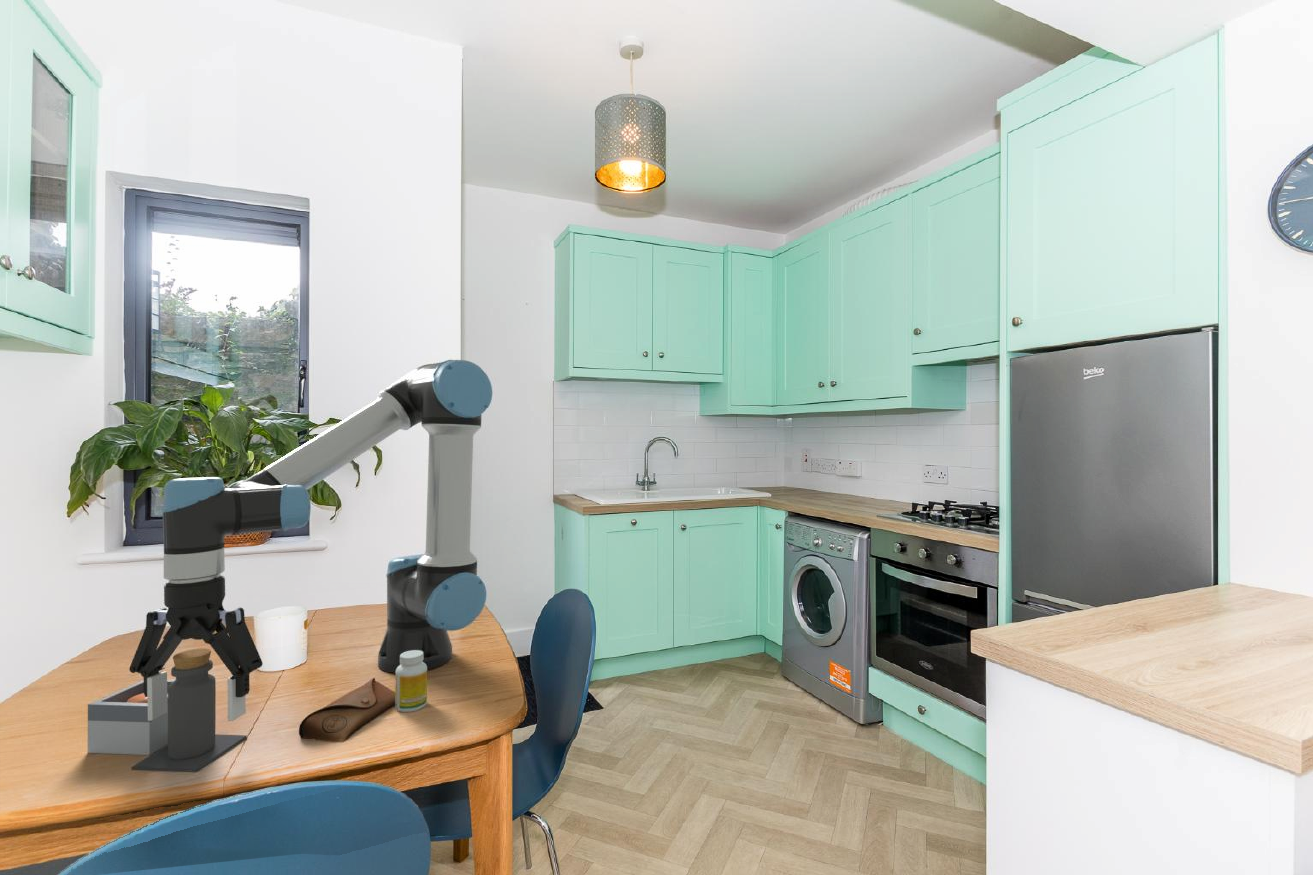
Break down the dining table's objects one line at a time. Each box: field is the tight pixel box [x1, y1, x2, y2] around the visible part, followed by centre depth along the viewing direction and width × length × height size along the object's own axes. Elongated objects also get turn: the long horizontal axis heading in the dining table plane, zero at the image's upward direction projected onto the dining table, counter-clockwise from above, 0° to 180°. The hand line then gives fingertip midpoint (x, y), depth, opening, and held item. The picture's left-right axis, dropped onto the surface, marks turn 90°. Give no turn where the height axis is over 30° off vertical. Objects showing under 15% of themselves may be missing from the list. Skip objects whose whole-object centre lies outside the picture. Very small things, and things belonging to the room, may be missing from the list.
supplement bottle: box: [394, 650, 428, 713], centre depth 110 cm, size 5×5×10 cm
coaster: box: [131, 733, 248, 773], centre depth 93 cm, size 10×10×1 cm
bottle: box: [167, 648, 217, 760], centre depth 93 cm, size 6×6×15 cm
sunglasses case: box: [298, 677, 395, 743], centre depth 106 cm, size 18×7×7 cm
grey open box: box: [87, 678, 176, 756], centre depth 98 cm, size 10×10×8 cm
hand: (197, 716), depth 93 cm, fingers open, 12 cm apart
